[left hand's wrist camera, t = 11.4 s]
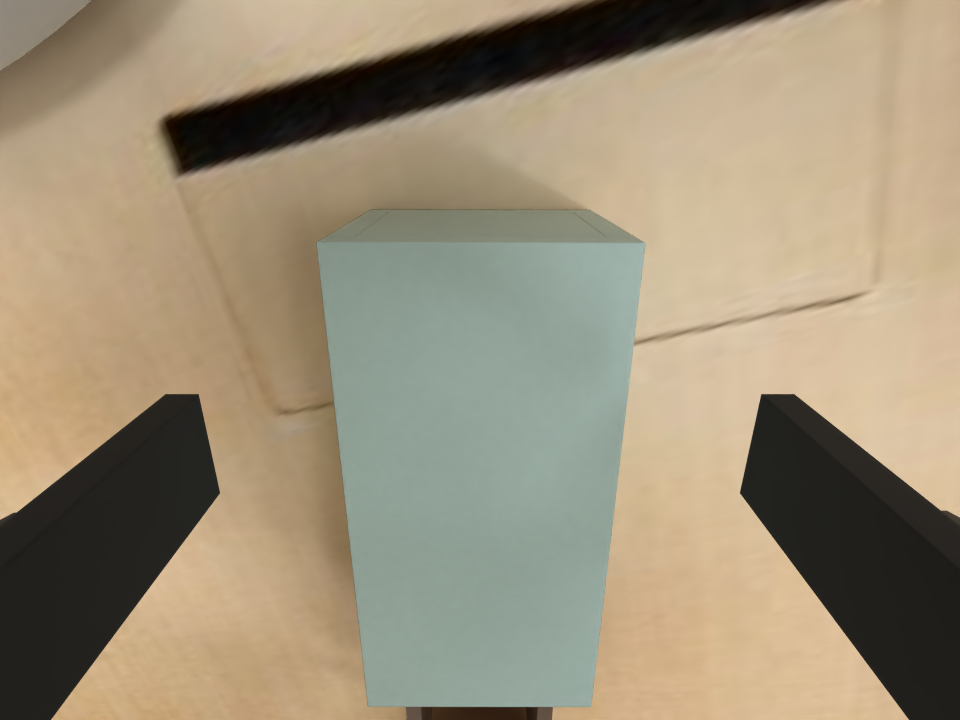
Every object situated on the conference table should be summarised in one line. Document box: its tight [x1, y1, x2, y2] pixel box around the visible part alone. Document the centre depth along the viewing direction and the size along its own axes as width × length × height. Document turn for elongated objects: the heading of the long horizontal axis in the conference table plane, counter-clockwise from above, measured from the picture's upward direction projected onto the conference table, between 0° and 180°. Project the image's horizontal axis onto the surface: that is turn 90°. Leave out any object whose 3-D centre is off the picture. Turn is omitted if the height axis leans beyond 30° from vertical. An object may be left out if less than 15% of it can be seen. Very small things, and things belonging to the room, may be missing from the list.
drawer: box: [406, 707, 553, 720], centre depth 31 cm, size 26×9×7 cm, turn 0°
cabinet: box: [316, 210, 645, 707], centre depth 25 cm, size 22×11×9 cm, turn 0°
